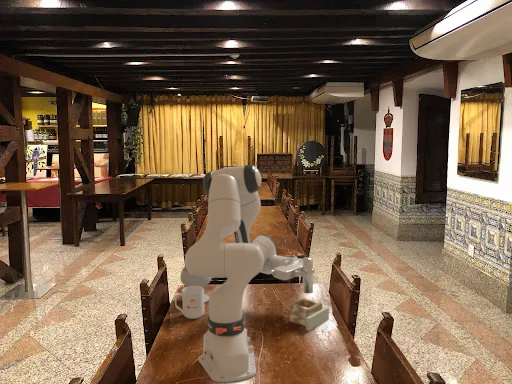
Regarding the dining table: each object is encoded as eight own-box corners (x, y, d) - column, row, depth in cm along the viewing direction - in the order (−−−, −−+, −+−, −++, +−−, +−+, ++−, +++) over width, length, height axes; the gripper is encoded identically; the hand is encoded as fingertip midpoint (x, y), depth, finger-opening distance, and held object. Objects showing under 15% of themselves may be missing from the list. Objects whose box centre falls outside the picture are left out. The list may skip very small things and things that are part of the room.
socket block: (290, 321, 175) (290, 304, 174) (303, 314, 182) (303, 297, 181) (309, 327, 169) (309, 310, 168) (321, 319, 176) (322, 303, 175)
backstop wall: (305, 330, 167) (305, 317, 167) (325, 318, 178) (325, 306, 177) (309, 331, 166) (309, 318, 166) (328, 319, 177) (329, 307, 176)
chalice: (208, 292, 208) (207, 262, 206) (215, 303, 195) (214, 270, 193) (179, 296, 204) (178, 265, 202) (183, 307, 191) (182, 273, 189)
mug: (204, 310, 187) (203, 285, 186) (204, 319, 178) (204, 292, 177) (175, 312, 185) (174, 286, 184) (174, 321, 177) (173, 294, 175)
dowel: (314, 292, 178) (314, 259, 176) (305, 293, 177) (305, 259, 175) (310, 289, 182) (310, 256, 180) (301, 290, 181) (301, 257, 179)
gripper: (266, 265, 179) (294, 271, 170) (296, 255, 194) (323, 260, 185) (267, 280, 179) (294, 287, 170) (296, 269, 195) (323, 275, 186)
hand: (309, 273), depth 178 cm, fingers closed on dowel, 4 cm apart
